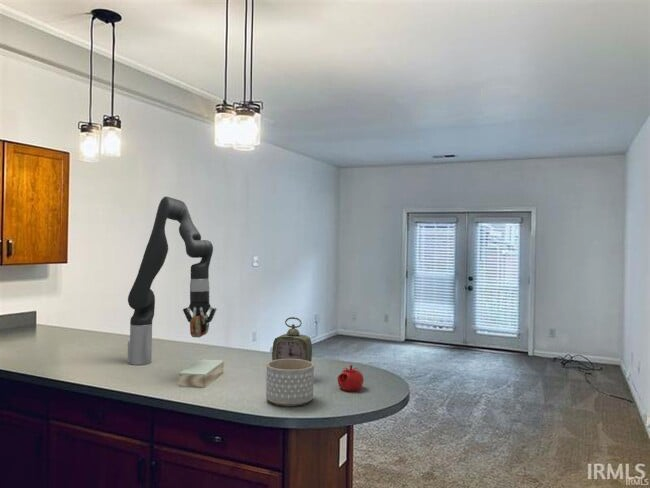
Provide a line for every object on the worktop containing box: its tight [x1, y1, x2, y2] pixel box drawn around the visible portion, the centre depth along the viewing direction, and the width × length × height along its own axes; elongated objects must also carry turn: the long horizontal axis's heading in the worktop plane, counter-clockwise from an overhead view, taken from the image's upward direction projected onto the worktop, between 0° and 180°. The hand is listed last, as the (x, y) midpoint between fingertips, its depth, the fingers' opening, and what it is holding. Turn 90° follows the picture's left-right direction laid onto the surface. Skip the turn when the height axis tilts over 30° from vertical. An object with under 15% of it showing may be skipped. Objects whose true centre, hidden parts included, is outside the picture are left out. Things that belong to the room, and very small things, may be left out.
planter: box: [265, 359, 315, 407], centre depth 177 cm, size 16×16×13 cm
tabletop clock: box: [271, 316, 313, 362], centre depth 204 cm, size 14×9×25 cm, turn 75°
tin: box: [189, 314, 210, 338], centre depth 203 cm, size 15×3×8 cm, turn 173°
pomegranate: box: [337, 364, 364, 392], centre depth 192 cm, size 10×10×9 cm
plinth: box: [178, 359, 225, 388], centre depth 201 cm, size 10×22×5 cm, turn 173°
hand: (199, 332), depth 203 cm, fingers closed on tin, 2 cm apart
